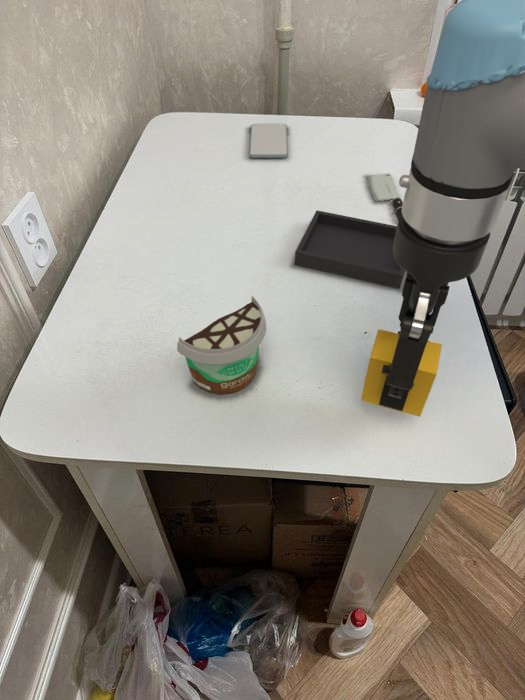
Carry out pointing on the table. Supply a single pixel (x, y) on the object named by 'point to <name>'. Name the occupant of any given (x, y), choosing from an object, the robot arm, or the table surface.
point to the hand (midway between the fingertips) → (395, 388)
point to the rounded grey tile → (268, 141)
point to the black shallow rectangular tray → (350, 249)
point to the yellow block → (384, 356)
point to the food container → (226, 350)
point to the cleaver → (385, 190)
